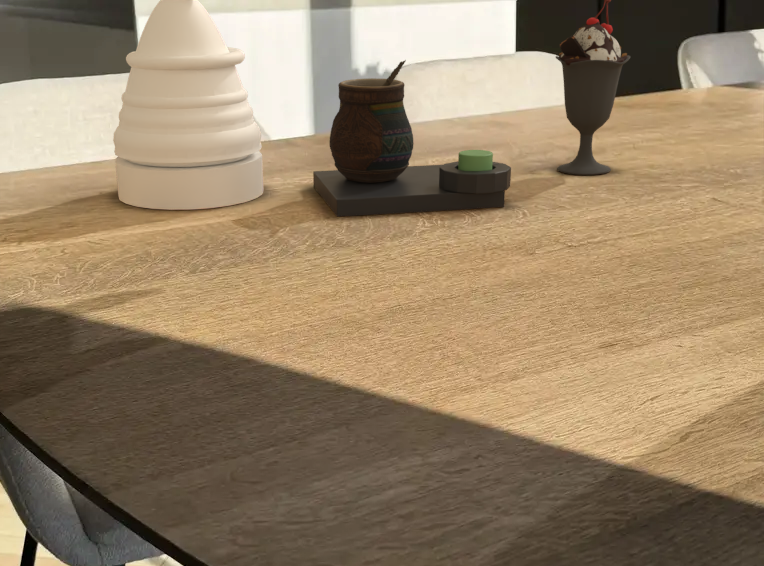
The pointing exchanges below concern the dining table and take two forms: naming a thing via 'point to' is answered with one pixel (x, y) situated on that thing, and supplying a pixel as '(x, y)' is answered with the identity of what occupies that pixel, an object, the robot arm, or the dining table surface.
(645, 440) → the dining table surface
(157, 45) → the honey pot
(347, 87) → the mate gourd
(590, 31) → the sundae
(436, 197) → the black green button base
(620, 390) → the dining table surface
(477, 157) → the button
